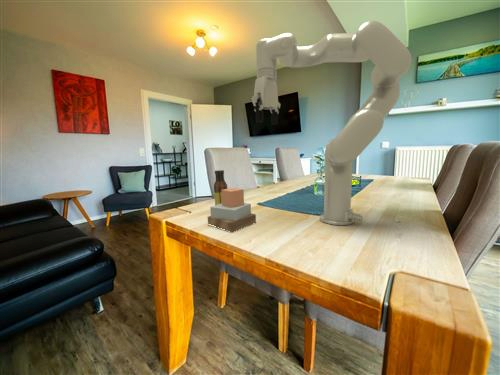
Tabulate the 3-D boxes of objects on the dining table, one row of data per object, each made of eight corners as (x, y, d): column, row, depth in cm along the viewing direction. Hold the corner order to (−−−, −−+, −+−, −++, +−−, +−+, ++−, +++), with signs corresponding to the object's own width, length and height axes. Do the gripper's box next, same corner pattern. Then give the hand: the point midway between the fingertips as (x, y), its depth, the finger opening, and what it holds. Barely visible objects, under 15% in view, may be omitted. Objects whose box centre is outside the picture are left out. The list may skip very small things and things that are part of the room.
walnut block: (255, 224, 85) (255, 214, 84) (232, 234, 75) (231, 223, 74) (232, 218, 93) (231, 209, 93) (208, 226, 83) (207, 216, 83)
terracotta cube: (244, 205, 83) (243, 189, 82) (231, 207, 79) (230, 191, 78) (234, 202, 87) (234, 187, 86) (222, 205, 83) (221, 189, 82)
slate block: (251, 213, 85) (250, 203, 85) (235, 221, 76) (234, 210, 75) (228, 210, 91) (228, 201, 90) (211, 217, 82) (210, 207, 81)
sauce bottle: (230, 211, 101) (229, 169, 98) (228, 215, 95) (226, 170, 92) (217, 211, 102) (214, 169, 99) (213, 215, 96) (211, 170, 93)
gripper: (271, 84, 92) (272, 125, 94) (244, 73, 79) (245, 122, 82) (287, 79, 87) (287, 124, 90) (260, 68, 74) (261, 120, 77)
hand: (267, 123), depth 86 cm, fingers open, 9 cm apart
